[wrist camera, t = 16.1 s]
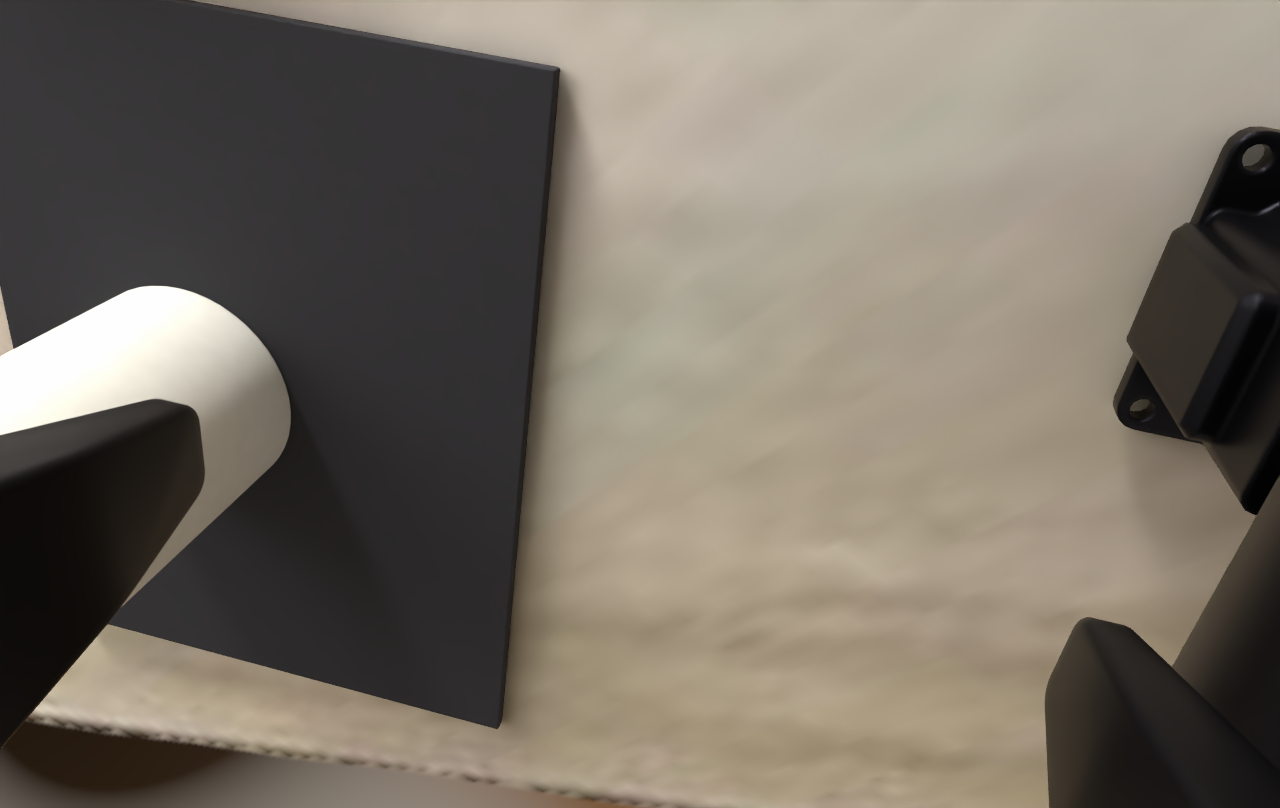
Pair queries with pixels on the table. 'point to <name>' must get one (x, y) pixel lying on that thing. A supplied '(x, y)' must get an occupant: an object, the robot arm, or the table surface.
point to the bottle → (160, 387)
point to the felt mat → (308, 309)
